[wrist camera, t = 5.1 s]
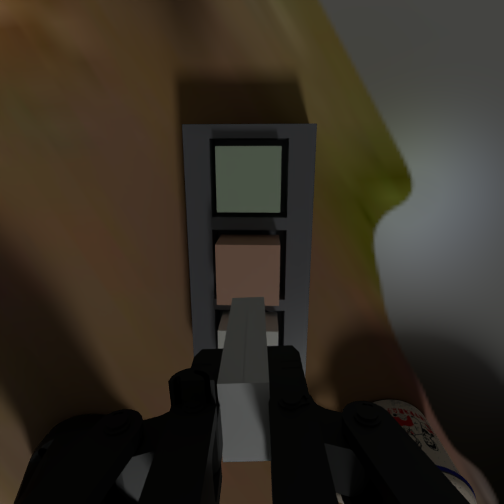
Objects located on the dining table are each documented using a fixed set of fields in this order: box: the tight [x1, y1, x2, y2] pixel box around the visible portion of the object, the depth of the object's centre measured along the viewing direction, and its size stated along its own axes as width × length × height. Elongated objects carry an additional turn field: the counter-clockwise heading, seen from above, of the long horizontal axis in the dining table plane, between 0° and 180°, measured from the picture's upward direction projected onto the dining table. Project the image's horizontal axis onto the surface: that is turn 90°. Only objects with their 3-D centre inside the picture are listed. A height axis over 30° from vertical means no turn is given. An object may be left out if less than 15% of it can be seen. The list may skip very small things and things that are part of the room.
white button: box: [218, 311, 278, 349], centre depth 30 cm, size 5×5×4 cm
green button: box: [215, 146, 282, 213], centre depth 27 cm, size 5×5×4 cm
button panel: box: [182, 124, 317, 375], centre depth 30 cm, size 10×22×4 cm, turn 0°
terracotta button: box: [215, 234, 280, 306], centre depth 28 cm, size 5×5×4 cm
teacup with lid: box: [336, 400, 477, 504], centre depth 32 cm, size 12×9×12 cm
